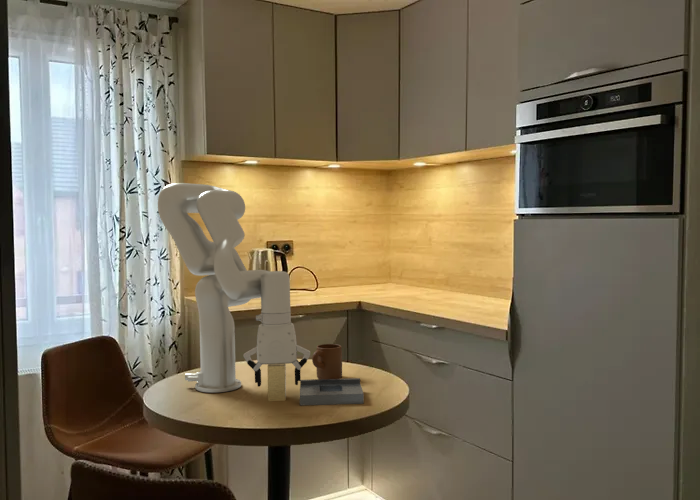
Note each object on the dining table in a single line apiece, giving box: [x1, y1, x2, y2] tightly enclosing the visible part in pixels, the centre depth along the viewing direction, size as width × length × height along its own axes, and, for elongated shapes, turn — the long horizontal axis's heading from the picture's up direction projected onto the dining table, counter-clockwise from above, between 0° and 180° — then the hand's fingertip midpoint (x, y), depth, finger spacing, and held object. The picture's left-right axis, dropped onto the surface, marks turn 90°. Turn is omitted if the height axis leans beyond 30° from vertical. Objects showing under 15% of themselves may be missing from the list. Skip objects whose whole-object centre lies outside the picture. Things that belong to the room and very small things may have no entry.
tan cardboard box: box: [267, 364, 287, 402], centre depth 163 cm, size 4×4×9 cm
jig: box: [299, 377, 365, 406], centre depth 162 cm, size 16×12×4 cm
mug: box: [311, 343, 343, 379], centre depth 182 cm, size 12×8×9 cm, turn 149°
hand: (278, 384), depth 162 cm, fingers open, 9 cm apart
